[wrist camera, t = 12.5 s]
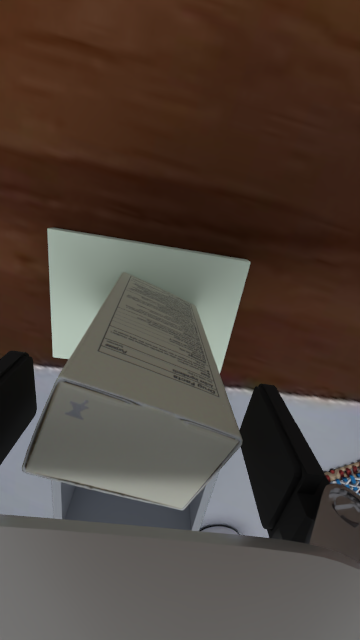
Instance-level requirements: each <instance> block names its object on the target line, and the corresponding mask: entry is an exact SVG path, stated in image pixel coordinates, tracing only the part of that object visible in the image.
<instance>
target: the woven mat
mask: <svg viewBox="0 0 360 640" xmlns="http://www.w3.org/2000/svg"><path fill="white" fill-rule="evenodd" d="M359 466H360V462H357V463H353V464H350V465H347V466H344V467H341V468H337V469H335V470H330V472H325V473H324V474H325V475H326V477H327V479H328V481H329V483H330V484H331V483H337V484H342V485H344V486H346V487H348V488H350V489H351V490H353V491H354V492H356V493H357V494H358V495H359V496H360V468H358V467H359ZM343 471H346V472H344V473H343ZM346 477H347V478H346ZM340 478H341V480H339V479H340ZM331 481H333V482H331Z"/></svg>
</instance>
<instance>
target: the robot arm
mask: <svg viewBox="0 0 360 640" xmlns="http://www.w3.org/2000/svg"><path fill="white" fill-rule="evenodd" d="M36 410H37V404H36V392H35V380H34V368H33V359H32V357H29V355H28V353H26V352H18V351H10V352H8V353H7V354H6V355H5V356H3V357H2V358H1V359H0V465H1V463H2V462H3V460H4V459H5V458H6V456H7V455H8V453H9V452H10V450H11V449H12V448H13V446H14V445H15V443H16V442H17V440H18V439H19V438H20V436H21V435H22V433H23V432H24V430H25V429H26V428H27V426H28V425H29V423H30V422H31V420H32V419H33V418H34V416H35V414H36ZM239 431H240V434H241V437H242V440H243V441H242V445H241V449H242V453H243V457H244V460H245V464H246V468H247V472H248V475H249V479H250V483H251V486H252V490H253V494H254V498H255V501H256V505H257V509H258V513H259V516H260V520H261V523H262V526H263V528H264V529H267V531H268V534H269V538H263V537H254V536H245V535H236V534H225V533H214V532H203V531H192V530H181V529H170V528H159V527H147V526H135V525H124V524H112V523H100V522H88V521H76V520H64V519H52V518H39V517H26V516H14V515H1V514H0V640H360V496H359V495H358V494H357V493H356V492H354V491H353V490H351V489H350V488H348V487H346V486H344V485H341V484H337V483H331V484H330V483H329V481H328V479H327V477H326V475H325V474H324V472H323V470H322V468H321V467H320V465H319V463H318V461H317V459H316V458H315V456H314V454H313V452H312V450H311V449H310V447H309V445H308V443H307V442H306V440H305V438H304V436H303V434H302V433H301V431H300V429H299V427H298V426H297V424H296V422H295V421H294V419H293V417H292V415H291V414H290V412H289V410H288V408H287V406H286V405H285V403H284V401H283V399H282V397H281V396H280V394H279V392H278V390H277V388H276V387H275V386H274V385H267V384H260V385H259V387H255V388H254V391H253V394H252V397H251V399H250V402H249V405H248V408H247V411H246V414H245V416H244V419H243V422H242V425H241V428H240V430H239Z"/></svg>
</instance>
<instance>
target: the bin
mask: <svg viewBox="0 0 360 640" xmlns="http://www.w3.org/2000/svg"><path fill="white" fill-rule="evenodd" d="M219 471H220V470H219ZM219 471H218V472H217V473H216V474H215V476H214V477H213V478H212V479H211V480H210V481H209V483H208V484H207V485H205V487H204V488H203V489H202V490H201V491H200V492H199V493H198V494H197V495H196V496H195V498H194V499H193V500H192V501H191V502H190V503H189V505H188V506H187V507H186V508H185V509H184V510H178V509H174V508H169V507H165V506H161V505H156V504H152V503H146V502H142V501H138V500H133V499H129V498H125V497H120V496H116V495H112V494H107V493H103V492H99V491H96V490H90V489H86V488H83V487H78V486H75V485H70V484H66V483H63V482H58V481H55V480H51V485H52V501H53V517H54V519H64V520H76V521H88V522H100V523H112V524H124V525H135V526H147V527H159V528H170V529H181V530H192V531H199V530H200V527H201V524H202V521H203V518H204V515H205V512H206V509H207V506H208V503H209V500H210V497H211V494H212V491H213V488H214V485H215V482H216V480H217V477H218V474H219Z"/></svg>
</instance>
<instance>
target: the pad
mask: <svg viewBox="0 0 360 640" xmlns="http://www.w3.org/2000/svg"><path fill="white" fill-rule="evenodd" d="M47 233H48V255H49V278H50V301H51V324H52V346H53V357H56V358H64V359H69V358H70V357H71V355H72V354H73V352H74V350H75V349H76V347H77V346H78V344H79V342H80V341H81V339H82V337H83V336H84V334H85V333H86V331H87V329H88V328H89V326H90V324H91V323H92V321H93V319H94V318H95V316H96V315H97V313H98V311H99V310H100V308H101V306H102V305H103V303H104V301H105V300H106V298H107V297H108V295H109V293H110V292H111V290H112V289H113V287H114V285H115V284H116V282H117V280H118V279H119V277H120V276H121V274H122V273H123V272H125V273H128V274H130V275H132V276H135V277H137V278H139V279H141V280H144V281H146V282H148V283H150V284H153V285H155V286H157V287H159V288H161V289H163V290H165V291H167V292H170V293H172V294H174V295H176V296H178V297H180V298H182V299H184V300H186V301H187V302H189V303H191V304H193V305H195V306H196V308H197V311H198V314H199V317H200V319H201V322H202V325H203V328H204V331H205V334H206V337H207V339H208V342H209V345H210V348H211V351H212V354H213V357H214V360H215V362H216V365H217V368H218V371H219V374H220V371H221V368H222V364H223V361H224V357H225V353H226V350H227V346H228V343H229V339H230V335H231V332H232V328H233V324H234V321H235V317H236V314H237V310H238V306H239V303H240V299H241V296H242V292H243V288H244V285H245V281H246V277H247V274H248V270H249V267H250V263H251V262H250V261H248V260H247V259H240V258H234V257H228V256H222V255H216V254H210V253H204V252H198V251H192V250H186V249H180V248H174V247H168V246H162V245H156V244H150V243H144V242H138V241H132V240H126V239H120V238H114V237H108V236H102V235H96V234H90V233H84V232H78V231H71V230H65V229H59V228H47Z"/></svg>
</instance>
